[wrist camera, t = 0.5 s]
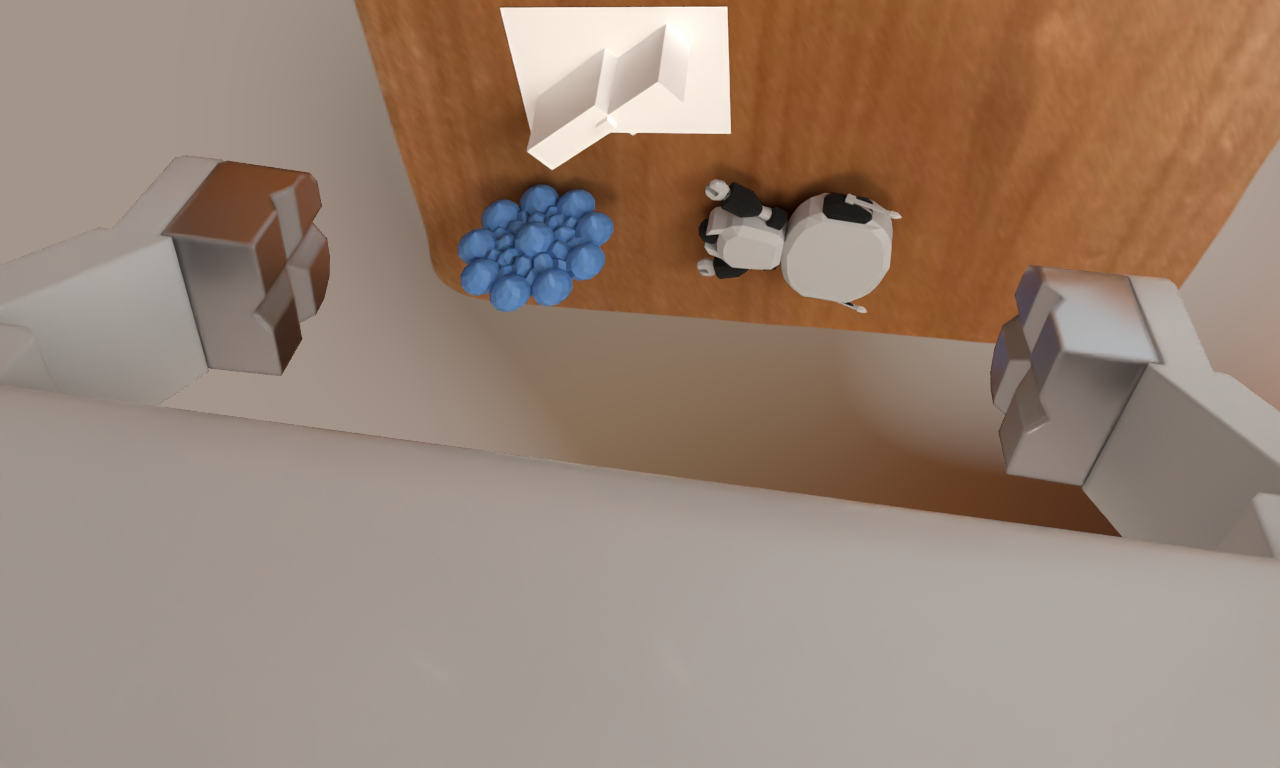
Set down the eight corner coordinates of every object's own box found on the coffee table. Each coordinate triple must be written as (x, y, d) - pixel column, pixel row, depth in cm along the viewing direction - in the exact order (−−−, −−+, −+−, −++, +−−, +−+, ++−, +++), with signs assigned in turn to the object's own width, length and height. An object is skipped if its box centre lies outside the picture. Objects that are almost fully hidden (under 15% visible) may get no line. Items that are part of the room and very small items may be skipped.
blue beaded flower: (483, 218, 88) (454, 338, 81) (468, 161, 82) (436, 286, 76) (622, 226, 87) (603, 348, 80) (617, 170, 81) (597, 296, 75)
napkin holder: (531, 133, 78) (518, 191, 75) (497, 7, 69) (481, 69, 66) (733, 133, 76) (727, 194, 73) (727, 4, 67) (721, 67, 64)
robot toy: (698, 249, 89) (875, 277, 88) (690, 292, 87) (871, 321, 86) (710, 147, 79) (911, 177, 78) (700, 192, 76) (907, 224, 75)
